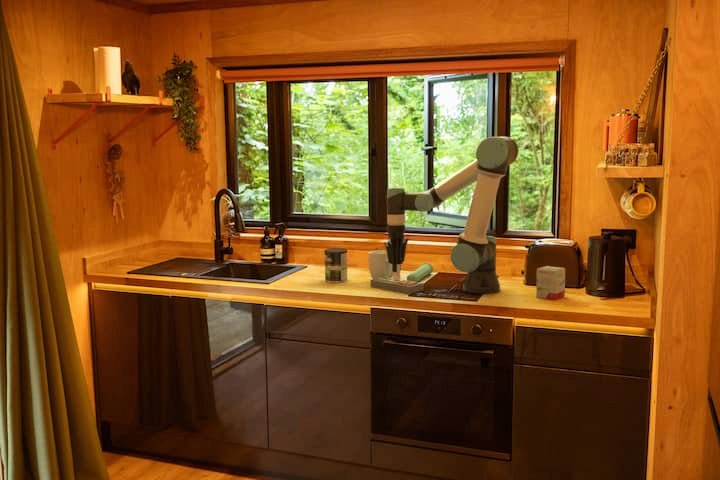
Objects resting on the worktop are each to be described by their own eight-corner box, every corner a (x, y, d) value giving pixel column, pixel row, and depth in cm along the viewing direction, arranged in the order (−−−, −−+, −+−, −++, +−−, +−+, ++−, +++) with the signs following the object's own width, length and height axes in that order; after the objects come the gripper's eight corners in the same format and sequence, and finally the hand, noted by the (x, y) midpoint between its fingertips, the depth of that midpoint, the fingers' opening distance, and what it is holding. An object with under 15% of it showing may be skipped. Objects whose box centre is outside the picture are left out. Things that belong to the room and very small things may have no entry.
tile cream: (405, 287, 305) (405, 279, 305) (397, 289, 302) (397, 281, 301) (396, 286, 309) (396, 278, 308) (388, 288, 305) (388, 280, 305)
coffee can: (330, 284, 317) (330, 252, 315) (321, 280, 326) (320, 249, 324) (351, 281, 322) (351, 250, 320) (341, 277, 331) (341, 247, 329)
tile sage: (393, 285, 310) (393, 277, 309) (385, 287, 306) (385, 279, 306) (384, 284, 313) (384, 276, 313) (377, 286, 310) (377, 278, 309)
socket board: (423, 290, 301) (423, 283, 300) (409, 294, 295) (409, 286, 294) (384, 283, 316) (384, 276, 316) (370, 286, 310) (370, 279, 309)
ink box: (565, 296, 286) (566, 267, 284) (555, 300, 279) (556, 270, 278) (545, 293, 291) (546, 264, 290) (535, 297, 285) (535, 268, 283)
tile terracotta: (416, 290, 301) (416, 281, 300) (409, 292, 297) (409, 283, 297) (407, 288, 304) (407, 280, 304) (400, 290, 301) (399, 282, 300)
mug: (403, 282, 317) (403, 253, 315) (383, 285, 311) (382, 255, 309) (384, 277, 329) (383, 249, 327) (364, 280, 323) (363, 251, 321)
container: (414, 271, 312) (430, 260, 334) (402, 275, 314) (419, 264, 337) (419, 284, 312) (435, 272, 334) (407, 288, 314) (424, 276, 337)
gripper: (399, 221, 308) (399, 275, 312) (379, 225, 299) (379, 280, 303) (413, 223, 303) (413, 278, 307) (392, 226, 294) (393, 282, 298)
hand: (396, 279), depth 305 cm, fingers closed
